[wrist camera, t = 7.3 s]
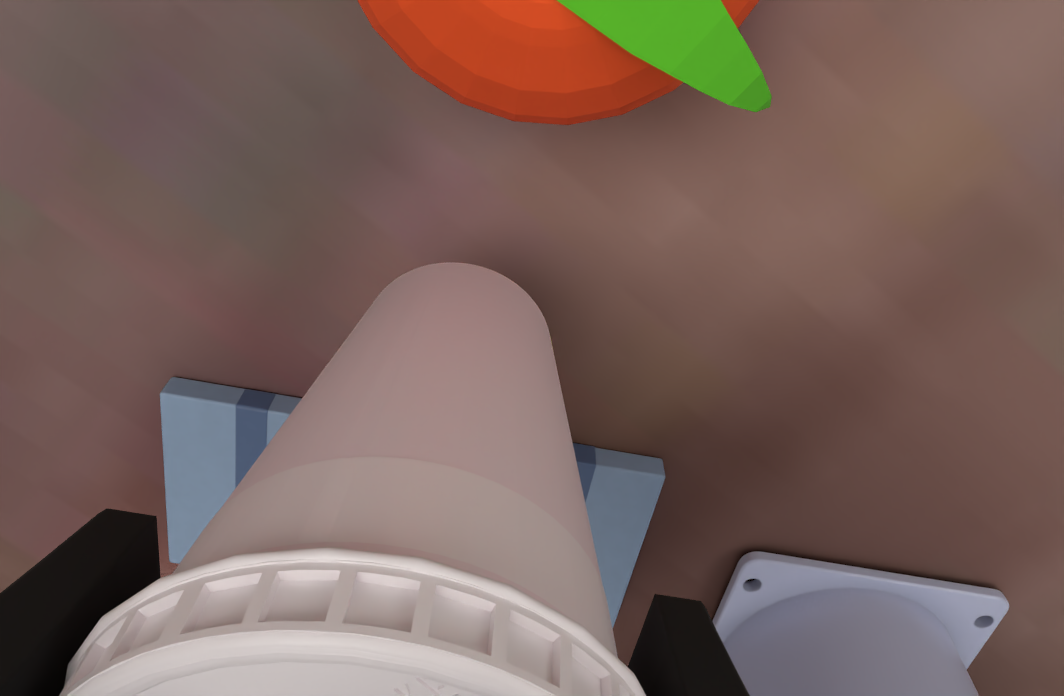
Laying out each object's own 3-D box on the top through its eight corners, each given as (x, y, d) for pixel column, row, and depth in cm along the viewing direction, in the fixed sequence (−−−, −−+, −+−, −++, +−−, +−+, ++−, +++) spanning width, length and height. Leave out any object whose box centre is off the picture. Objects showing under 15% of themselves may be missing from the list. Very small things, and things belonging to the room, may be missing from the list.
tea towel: (611, 610, 26) (612, 631, 25) (179, 543, 25) (167, 564, 24) (663, 457, 22) (666, 477, 22) (171, 374, 22) (158, 392, 21)
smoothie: (365, 497, 19) (2, 1687, 7) (238, 238, 15) (-898, 1614, 3) (650, 441, 18) (835, 1738, 6) (576, 151, 14) (630, 1696, 2)
